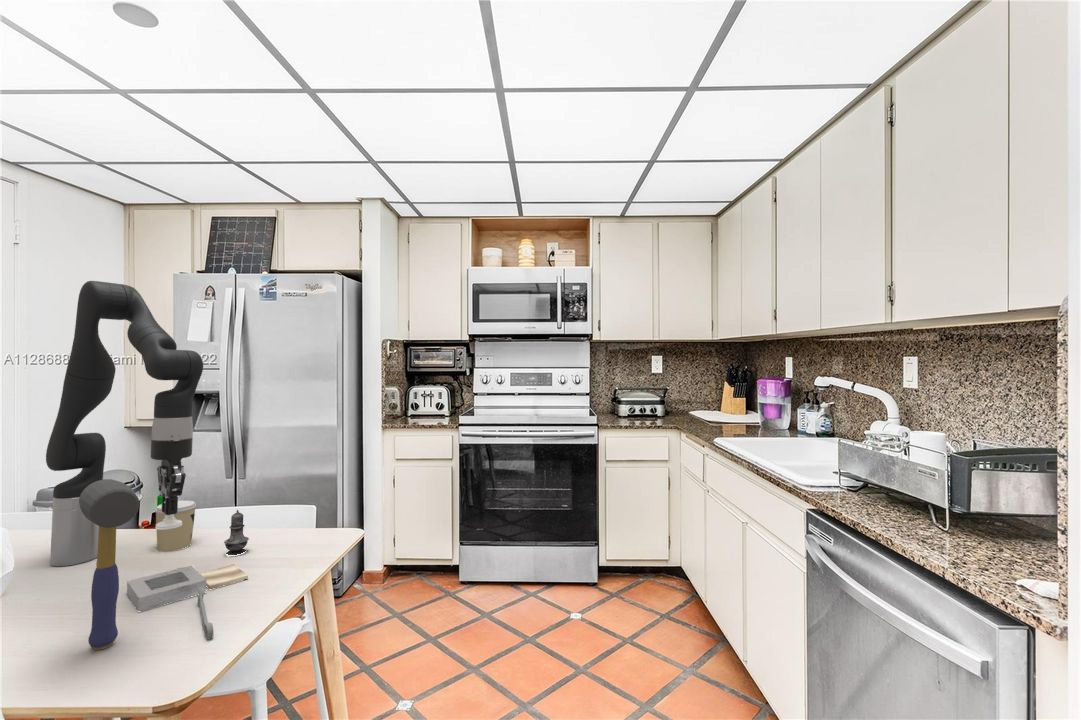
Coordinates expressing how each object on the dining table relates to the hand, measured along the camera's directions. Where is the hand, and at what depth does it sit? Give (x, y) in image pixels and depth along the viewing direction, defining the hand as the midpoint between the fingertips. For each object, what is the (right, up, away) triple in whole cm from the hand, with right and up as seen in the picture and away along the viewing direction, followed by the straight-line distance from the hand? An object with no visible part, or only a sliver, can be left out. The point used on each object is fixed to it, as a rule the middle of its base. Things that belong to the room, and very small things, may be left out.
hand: (169, 512), depth 110 cm
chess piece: (0, -3, 0) cm, 3 cm away
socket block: (0, -18, -1) cm, 18 cm away
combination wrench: (+16, -19, -11) cm, 27 cm away
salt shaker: (0, -19, +24) cm, 31 cm away
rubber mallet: (+4, -18, -21) cm, 28 cm away
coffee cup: (-20, -19, +28) cm, 40 cm away
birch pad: (+7, -19, +8) cm, 21 cm away
